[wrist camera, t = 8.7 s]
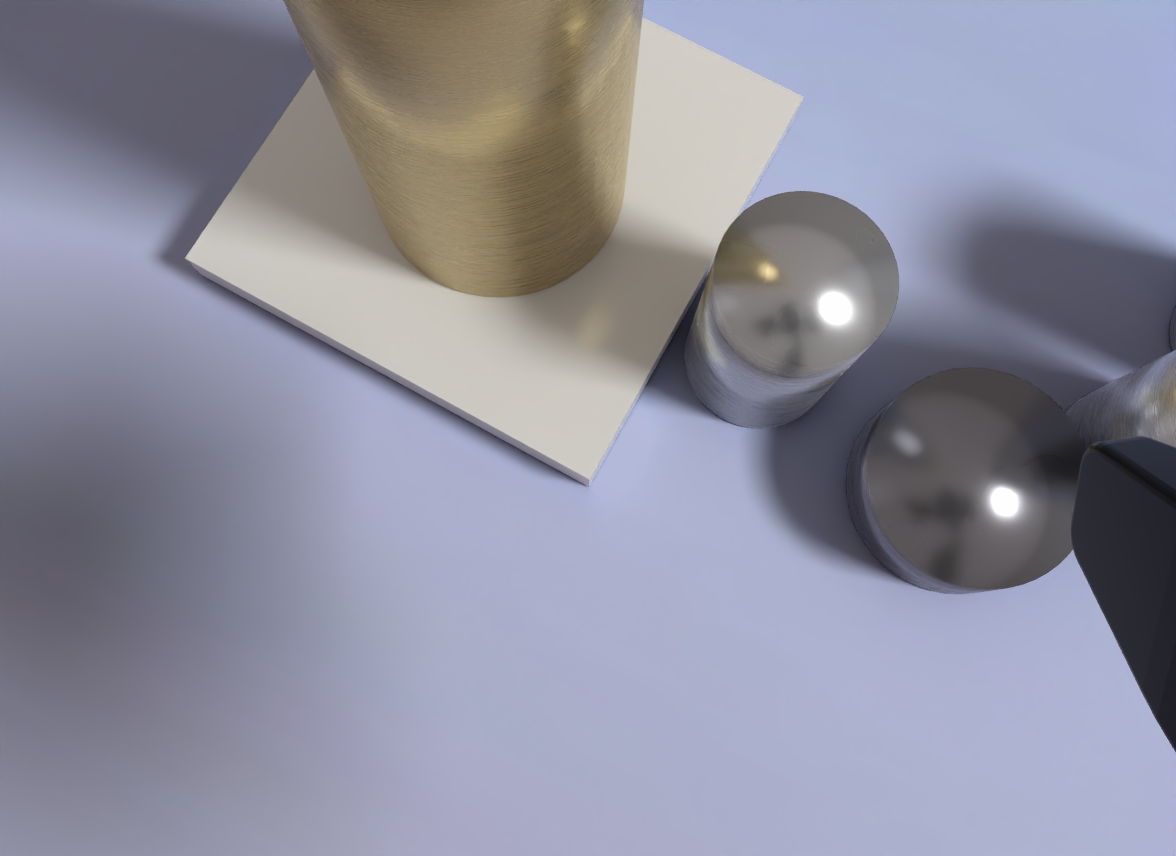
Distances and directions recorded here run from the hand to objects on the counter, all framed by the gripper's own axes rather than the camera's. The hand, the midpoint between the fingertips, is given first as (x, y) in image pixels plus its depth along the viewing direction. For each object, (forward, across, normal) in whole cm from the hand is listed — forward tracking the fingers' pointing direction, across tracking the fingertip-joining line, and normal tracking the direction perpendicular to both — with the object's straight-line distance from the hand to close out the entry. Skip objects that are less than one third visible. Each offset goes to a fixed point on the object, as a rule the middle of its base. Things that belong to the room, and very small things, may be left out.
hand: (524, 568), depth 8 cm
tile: (+12, 0, +1) cm, 12 cm away
